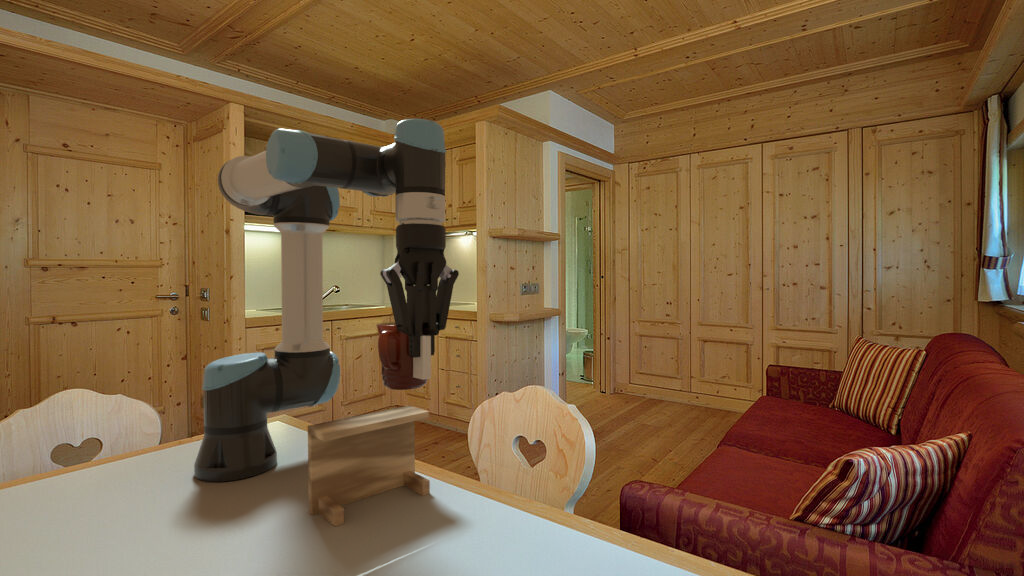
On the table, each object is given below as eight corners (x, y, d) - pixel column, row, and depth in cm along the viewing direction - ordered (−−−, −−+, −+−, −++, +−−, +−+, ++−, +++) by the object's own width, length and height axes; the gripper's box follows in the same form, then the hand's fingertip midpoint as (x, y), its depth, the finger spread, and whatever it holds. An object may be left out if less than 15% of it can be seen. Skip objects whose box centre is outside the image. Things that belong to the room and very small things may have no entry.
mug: (393, 380, 88) (392, 321, 88) (441, 382, 86) (439, 321, 86) (355, 395, 76) (354, 326, 76) (409, 397, 74) (408, 326, 74)
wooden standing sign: (308, 512, 87) (307, 425, 86) (410, 480, 100) (410, 405, 100) (328, 528, 81) (327, 436, 81) (434, 492, 94) (433, 412, 94)
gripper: (396, 218, 71) (397, 387, 72) (469, 225, 80) (470, 375, 81) (370, 223, 77) (371, 380, 77) (441, 228, 86) (442, 369, 86)
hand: (422, 377), depth 79 cm, fingers closed
